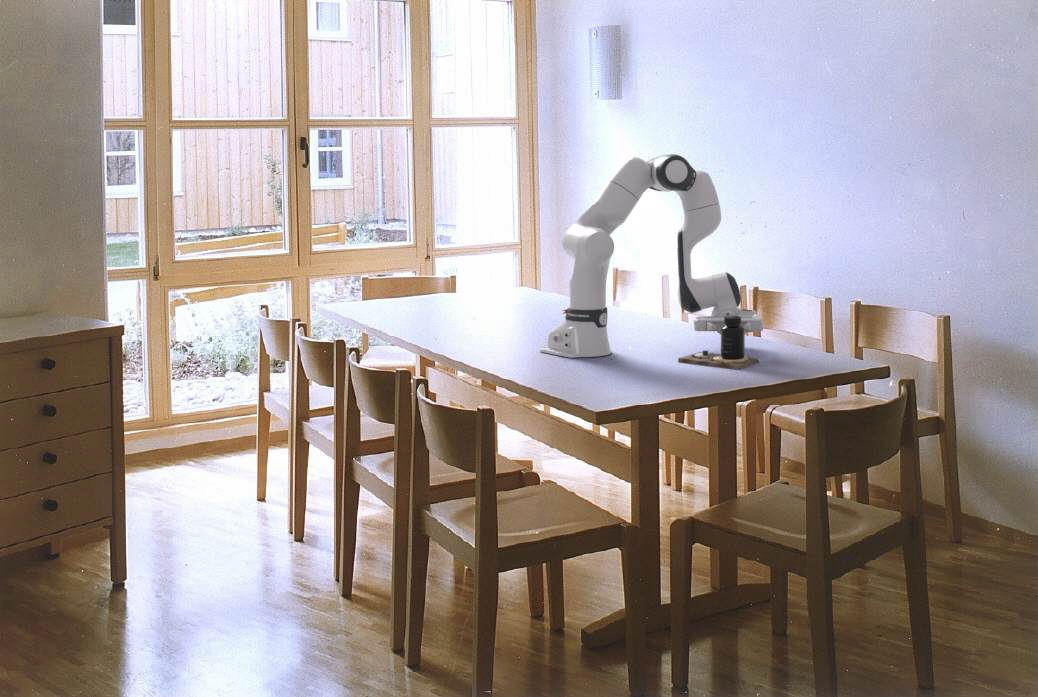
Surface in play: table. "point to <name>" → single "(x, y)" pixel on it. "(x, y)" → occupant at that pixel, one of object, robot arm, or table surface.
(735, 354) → the supplement bottle
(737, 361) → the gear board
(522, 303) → the table surface
